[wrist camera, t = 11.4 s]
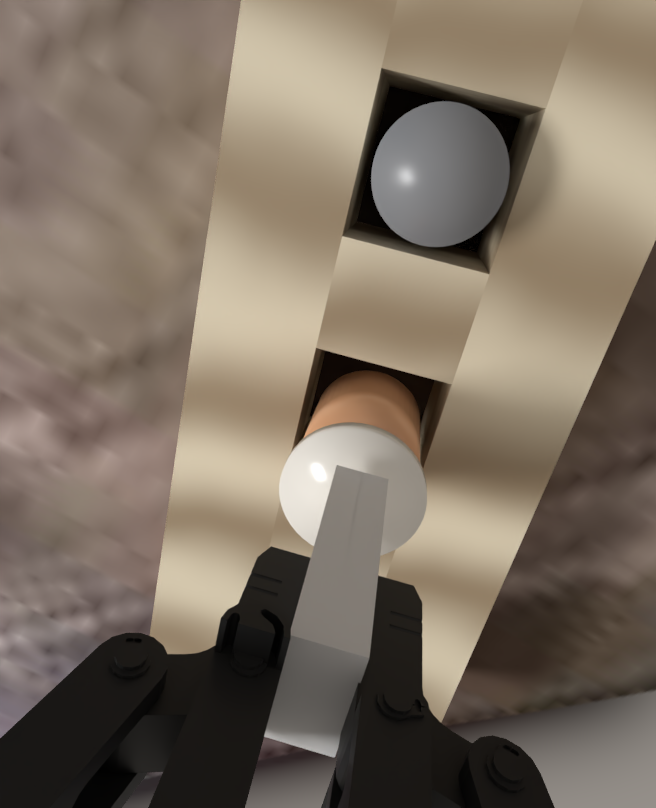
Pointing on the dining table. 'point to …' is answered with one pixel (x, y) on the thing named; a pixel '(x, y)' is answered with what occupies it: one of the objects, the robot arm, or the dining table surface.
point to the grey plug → (440, 174)
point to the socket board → (408, 286)
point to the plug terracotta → (359, 454)
